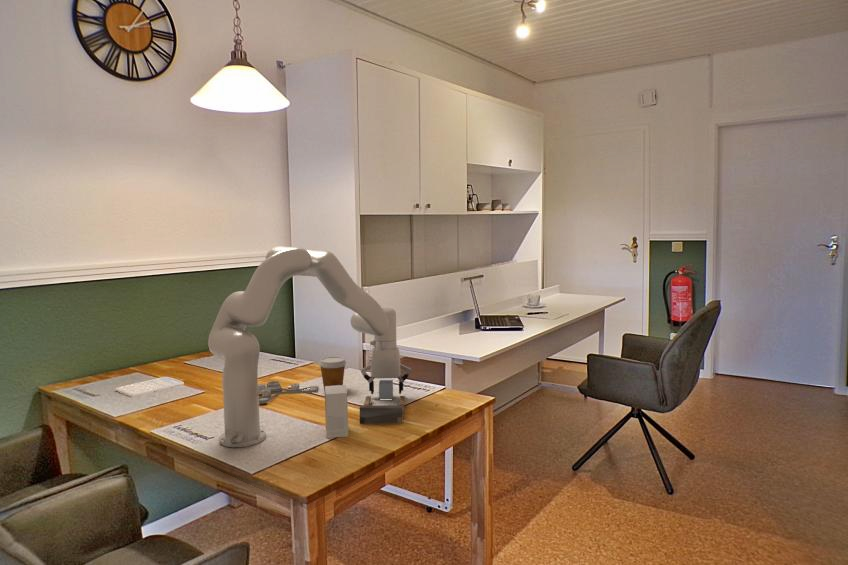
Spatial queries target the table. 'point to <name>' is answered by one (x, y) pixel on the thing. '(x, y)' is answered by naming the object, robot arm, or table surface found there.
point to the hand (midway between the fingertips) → (386, 392)
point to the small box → (336, 411)
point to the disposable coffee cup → (332, 371)
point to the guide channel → (381, 412)
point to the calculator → (149, 386)
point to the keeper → (386, 389)
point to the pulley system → (276, 388)
